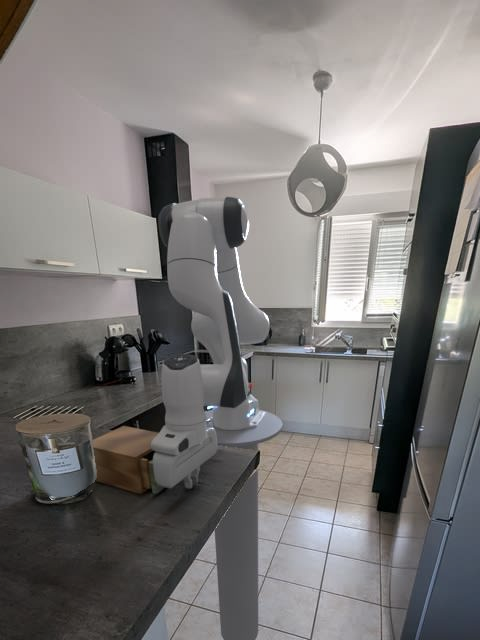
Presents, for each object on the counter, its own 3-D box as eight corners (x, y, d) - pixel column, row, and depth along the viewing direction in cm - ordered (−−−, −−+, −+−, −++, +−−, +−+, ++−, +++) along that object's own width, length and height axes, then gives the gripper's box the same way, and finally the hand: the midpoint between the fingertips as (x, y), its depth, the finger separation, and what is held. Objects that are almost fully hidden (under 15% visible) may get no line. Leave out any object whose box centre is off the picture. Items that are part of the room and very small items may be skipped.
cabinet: (176, 469, 93) (173, 435, 90) (141, 494, 82) (135, 457, 78) (128, 457, 100) (123, 425, 96) (90, 479, 89) (82, 444, 85)
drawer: (201, 473, 89) (199, 445, 86) (171, 498, 79) (167, 467, 76) (141, 458, 97) (137, 432, 94) (106, 479, 87) (100, 450, 84)
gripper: (200, 414, 88) (203, 464, 94) (144, 446, 71) (153, 504, 77) (222, 418, 85) (224, 468, 91) (170, 451, 69) (177, 511, 74)
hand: (191, 485), depth 84 cm, fingers closed
